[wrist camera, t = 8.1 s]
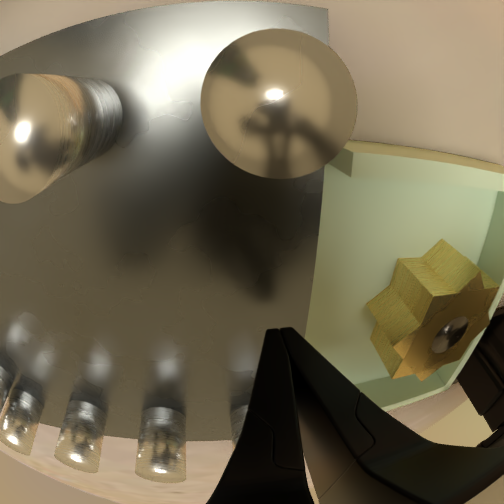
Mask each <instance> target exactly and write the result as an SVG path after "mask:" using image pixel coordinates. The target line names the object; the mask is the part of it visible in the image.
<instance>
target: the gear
mask: <svg viewBox="0 0 504 504" xmlns="http://www.w3.org/2000/svg"><path fill="white" fill-rule="evenodd" d="M499 287H500V286H499V285H498V284H497V283H496V282H494V281H493V280H492V279H491V278H490V277H489V276H488V275H487V274H486V273H485V272H484V271H482V270H481V269H480V268H479V267H478V266H477V265H476V264H474V263H473V262H472V261H471V260H470V259H469V258H467V257H466V256H463V255H462V254H461V253H459V252H458V251H457V250H456V249H455V248H453V247H452V246H451V245H450V244H448V243H447V242H446V241H445V240H443V239H441V240H440V241H438V242H437V243H436V244H435V245H434V246H433V247H432V248H431V249H430V250H429V251H428V252H427V253H426V254H424V255H423V256H422V257H418V258H398V259H397V263H396V266H395V269H394V272H393V276H392V279H391V282H390V285H389V286H387V287H386V288H385V289H384V290H383V291H381V292H380V293H379V294H378V295H376V296H375V297H374V298H373V299H371V300H370V301H369V302H368V303H366V305H367V306H368V308H369V309H370V311H371V313H372V314H373V316H374V317H375V319H376V320H377V321H376V324H375V326H374V329H373V332H372V334H371V337H370V340H371V342H372V343H373V345H374V347H375V349H376V351H377V353H378V354H379V356H380V358H381V360H382V362H383V364H384V366H385V367H386V369H387V371H388V373H389V375H390V377H391V379H396V378H400V377H404V376H408V375H412V374H416V376H417V377H418V378H419V379H420V381H421V382H422V381H423V380H425V379H426V378H427V377H429V376H430V375H431V374H433V373H434V372H435V371H436V370H438V369H439V368H440V367H442V366H443V365H446V364H449V363H452V362H455V361H458V360H460V359H461V357H462V356H463V354H464V352H465V351H466V349H467V348H468V346H469V344H470V343H471V341H472V340H473V339H474V338H475V337H476V336H478V335H479V334H480V333H481V332H482V331H483V330H484V329H485V328H486V327H487V326H488V325H489V324H490V320H489V313H488V310H489V308H490V306H491V304H492V302H493V300H494V298H495V296H496V294H497V292H498V289H499Z"/></svg>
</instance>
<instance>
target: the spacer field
mask: <svg viewBox="0 0 504 504" xmlns="http://www.w3.org/2000/svg"><path fill="white" fill-rule="evenodd" d="M356 116H357V95H356V89H355V86H354V82H353V79H352V77H351V75H350V72H349V71H348V69H347V67H346V66H345V64H344V62H343V61H342V60H341V59H340V57H339V56H338V55H337V54H336V53H335V52H334V51H333V50H332V49H331V48H330V47H329V30H328V9H325V8H319V7H313V6H305V5H297V4H288V3H277V2H262V1H206V2H191V3H180V4H171V5H163V6H156V7H150V8H144V9H138V10H133V11H128V12H123V13H118V14H114V15H110V16H106V17H102V18H98V19H94V20H91V21H87V22H84V23H81V24H77V25H74V26H71V27H68V28H65V29H62V30H60V31H57V32H54V33H51V34H49V35H46V36H44V37H41V38H39V39H36V40H34V41H32V42H29V43H27V44H25V45H23V46H20V47H18V48H16V49H14V50H12V51H10V52H8V53H6V54H4V55H2V56H0V413H1V411H2V408H3V406H4V403H5V401H6V398H7V396H8V397H9V398H8V401H7V403H6V405H5V408H4V411H3V413H2V416H1V418H0V441H1V442H2V443H4V444H5V445H6V446H8V447H10V448H11V449H13V450H15V451H17V452H19V453H21V454H24V455H30V453H31V449H32V445H33V442H34V438H35V435H36V431H37V428H38V425H39V423H42V424H46V425H50V426H55V427H59V428H61V430H60V434H59V438H58V442H57V446H56V450H55V454H54V456H55V458H56V459H58V460H59V461H60V462H62V463H64V464H65V465H67V466H69V467H72V468H74V469H77V470H80V471H84V472H89V473H97V472H98V467H99V461H100V454H101V448H102V442H103V437H104V435H105V436H113V437H122V438H132V439H138V446H137V456H136V467H135V473H136V474H137V475H138V476H140V477H142V478H144V479H147V480H151V481H155V482H162V483H178V482H183V481H185V480H186V441H218V440H232V446H233V451H234V449H235V446H236V444H237V441H238V439H239V436H240V433H241V430H242V427H243V423H244V420H245V416H246V412H247V408H248V404H249V400H250V396H251V392H252V388H253V384H254V380H255V375H256V371H257V367H258V363H259V358H260V354H261V350H262V345H263V341H264V336H265V332H266V330H267V329H272V328H278V329H280V328H283V327H293V328H294V329H295V330H296V331H297V332H298V333H299V334H300V335H301V336H302V337H303V338H305V333H306V327H307V320H308V314H309V307H310V300H311V293H312V286H313V278H314V270H315V262H316V254H317V245H318V236H319V227H320V217H321V206H322V195H323V183H324V169H325V165H327V164H328V163H329V162H330V161H331V160H333V159H334V158H335V157H336V156H337V155H338V154H339V153H340V152H341V150H342V149H343V148H344V146H345V145H346V143H347V141H348V140H349V138H350V136H351V133H352V131H353V128H354V125H355V121H356Z"/></svg>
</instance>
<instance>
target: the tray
mask: <svg viewBox="0 0 504 504" xmlns="http://www.w3.org/2000/svg"><path fill="white" fill-rule="evenodd" d="M441 239H443V240H445V241H446V242H447V243H448V244H450V245H451V246H452V247H453V248H455V249H456V250H457V251H458V252H459V253H461V254H462V255H463V256H466V257H467V258H469V259H470V260H471V261H472V262H473V263H474V264H476V265H477V266H478V267H479V268H480V269H481V270H482V271H484V272H485V273H486V274H487V275H488V276H489V277H490V278H491V279H492V280H493V281H494V282H496V283H497V284H498V285H499V286H500V287H499V289H498V292H497V294H496V296H495V298H494V300H493V302H492V304H491V306H490V308H489V310H488V313H489V320H491V318H492V316H493V314H494V312H495V310H496V308H497V306H498V303H499V301H500V299H501V297H502V295H503V293H504V167H503V166H501V165H498V164H494V163H490V162H486V161H482V160H478V159H473V158H469V157H464V156H459V155H454V154H449V153H444V152H438V151H433V150H427V149H421V148H414V147H407V146H400V145H393V144H384V143H376V142H366V141H355V140H348V141H347V143H346V145H345V146H344V148H343V149H342V150H341V152H340V153H339V154H338V155H337V156H336V157H335V158H334V159H333V160H331V161H330V162H329V163H328V164H327V165H325V169H324V183H323V195H322V206H321V217H320V227H319V236H318V245H317V254H316V262H315V270H314V278H313V286H312V293H311V300H310V307H309V314H308V320H307V327H306V333H305V339H306V340H307V341H308V342H309V343H310V344H311V345H312V346H313V347H314V348H315V349H316V350H317V351H318V352H319V353H320V354H321V355H323V356H324V357H325V358H326V359H327V360H328V361H329V362H330V363H331V364H332V365H333V366H334V367H335V368H337V369H338V370H339V371H340V372H341V373H342V374H343V375H344V376H345V377H346V378H347V379H348V380H350V381H351V382H352V383H353V384H354V385H355V386H356V387H357V388H358V389H359V390H360V392H363V393H364V394H365V395H366V396H367V397H368V398H369V399H371V400H372V401H373V402H374V403H375V404H376V405H378V406H379V407H380V408H381V409H383V410H384V411H385V412H386V411H389V410H392V409H395V408H398V407H402V406H405V405H408V404H411V403H413V402H416V401H419V400H422V399H425V398H427V397H430V396H433V395H435V394H438V393H440V392H443V391H445V390H448V389H449V387H450V386H451V384H452V383H453V382H454V380H455V379H456V377H457V376H458V374H459V373H460V371H461V370H462V368H463V367H464V365H465V363H466V362H467V360H468V359H469V357H470V355H471V354H472V352H473V350H474V349H475V347H476V345H477V344H478V342H479V340H480V338H481V336H482V335H483V333H484V331H485V329H486V328H485V329H484V330H483V331H482V332H481V333H480V334H479V335H478V336H476V337H475V338H474V339H473V340H472V341H471V343H470V344H469V346H468V348H467V349H466V351H465V352H464V354H463V356H462V357H461V359H460V360H458V361H455V362H452V363H449V364H446V365H443V366H442V367H440V368H439V369H438V370H436V371H435V372H434V373H433V374H431V375H430V376H429V377H427V378H426V379H425V380H423V381H422V382H421V381H420V379H419V378H418V377H417V376H416V374H412V375H408V376H404V377H400V378H396V379H391V377H390V375H389V373H388V371H387V369H386V367H385V366H384V364H383V362H382V360H381V358H380V356H379V354H378V353H377V351H376V349H375V347H374V345H373V343H372V342H371V340H370V337H371V334H372V332H373V329H374V326H375V324H376V321H377V320H376V319H375V317H374V316H373V314H372V313H371V311H370V309H369V308H368V306H367V305H366V303H368V302H369V301H370V300H371V299H373V298H374V297H375V296H376V295H378V294H379V293H380V292H381V291H383V290H384V289H385V288H386V287H387V286H389V285H390V282H391V279H392V276H393V272H394V269H395V266H396V263H397V259H398V258H418V257H422V256H423V255H424V254H426V253H427V252H428V251H429V250H430V249H431V248H432V247H433V246H434V245H435V244H436V243H437V242H438V241H440V240H441Z"/></svg>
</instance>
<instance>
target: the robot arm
mask: <svg viewBox="0 0 504 504" xmlns="http://www.w3.org/2000/svg"><path fill="white" fill-rule="evenodd" d="M457 382H459V383H460V385H461V386H462V388H463V389H464V391H465V393H466V394H467V396H468V398H469V399H470V401H471V402H472V404H473V406H474V407H475V409H476V411H477V412H478V414H479V415H480V416H482V415H483V416H484V418H485V420H486V422H487V423H488V425H489V427H490V429H491V430H492V432H494V431H495V430H497V429H498V430H497V431H495V432H494V433H493V434H492V435H491V436H490V437H489V438H487V439H486V440H484V441H482V442H481V443H480V444H478V445H477V446H476V447H464V446H453V445H444V444H438V443H434V442H431V441H429V440H427V439H425V438H423V437H421V436H420V435H418V434H417V433H415V432H414V431H412V430H411V429H409V428H408V427H406V426H405V425H403V424H402V423H401V422H399V421H398V420H396V419H395V418H393V417H392V416H391V415H389V414H388V413H387V412H385V411H384V410H383V409H381V408H380V407H379V406H378V405H376V404H375V403H374V402H373V401H372V400H371V399H369V398H368V397H367V396H366V395H365V394H364V393H363V392H360V390H359V389H358V388H357V387H356V386H355V385H354V384H353V383H352V382H351V381H350V380H348V379H347V378H346V377H345V376H344V375H343V374H342V373H341V372H340V371H339V370H338V369H337V368H335V367H334V366H333V365H332V364H331V363H330V362H329V361H328V360H327V359H326V358H325V357H324V356H323V355H321V354H320V353H319V352H318V351H317V350H316V349H315V348H314V347H313V346H312V345H311V344H310V343H309V342H308V341H307V340H306V339H305V338H303V337H302V336H301V335H300V334H299V333H298V332H297V331H296V330H295V329H294V328H293V327H283V328H280V329H278V328H272V329H267V330H266V332H265V336H264V341H263V345H262V350H261V354H260V358H259V363H258V367H257V371H256V375H255V380H254V384H253V388H252V392H251V396H250V400H249V404H248V408H247V412H246V416H245V420H244V423H243V427H242V430H241V433H240V436H239V439H238V441H237V444H236V446H235V449H234V451H233V453H232V455H231V458H230V460H229V462H228V464H227V466H226V468H225V470H224V473H223V475H222V477H221V479H220V481H219V483H218V485H217V487H216V489H215V490H214V492H213V494H212V495H211V497H210V499H209V500H208V501H207V503H206V504H314V501H313V499H312V496H311V494H310V491H309V488H308V483H307V478H306V472H305V463H304V456H305V460H306V463H307V466H308V469H309V472H310V475H311V479H312V482H313V485H314V488H315V491H316V494H317V497H318V499H319V504H504V308H503V309H500V310H497V311H495V312H494V314H493V316H492V318H491V320H490V324H489V325H488V326H487V327H486V329H485V331H484V333H483V335H482V336H481V338H480V340H479V342H478V344H477V345H476V347H475V349H474V350H473V352H472V354H471V355H470V357H469V359H468V360H467V362H466V363H465V365H464V367H463V368H462V370H461V371H460V373H459V374H458V376H457V377H456V379H455V380H454V382H453V383H452V384H454V383H457ZM452 384H451V385H452ZM303 453H304V455H303Z"/></svg>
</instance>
